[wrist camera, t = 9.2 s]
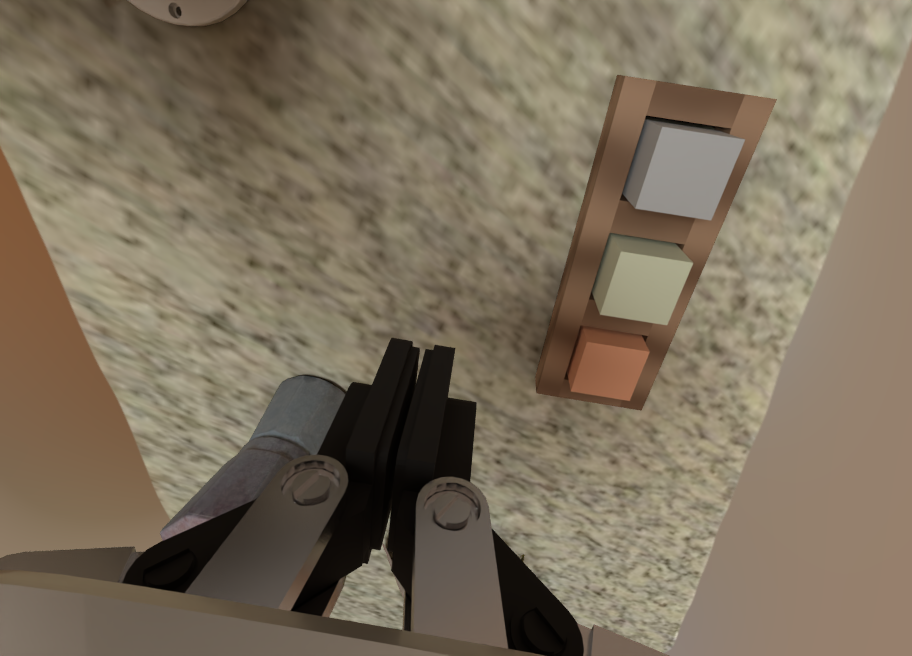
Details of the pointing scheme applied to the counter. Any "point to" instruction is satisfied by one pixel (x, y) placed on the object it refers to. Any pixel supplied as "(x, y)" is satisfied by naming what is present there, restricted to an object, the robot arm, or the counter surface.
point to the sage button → (640, 278)
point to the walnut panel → (640, 222)
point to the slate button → (680, 169)
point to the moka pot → (266, 450)
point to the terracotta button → (606, 362)
